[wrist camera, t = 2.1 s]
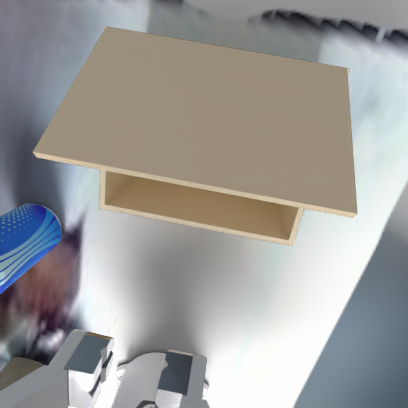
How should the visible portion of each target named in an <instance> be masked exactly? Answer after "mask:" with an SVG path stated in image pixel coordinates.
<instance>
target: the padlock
mask: <svg viewBox="0 0 408 408" xmlns="http://www.w3.org/2000/svg"><path fill="white" fill-rule="evenodd" d="M42 366H44V365H43V364H42V363H40V362H37V361H34V360H30V359H27V358H23V357H13V358H12V359H11V360H10V361H9V362H8V364H7V365H6V366H5V367H4V368H3V370H2V371H1V372H0V391H1V390H3V389H5V388H6V387H8V386H10V385H11V384H13V383H15V382H16V381H18V380H20V379H22V378H23V377H25V376H27V375H28V374H30V373H32V372H33V371H35V370H37V369H38V368H40V367H42Z"/></svg>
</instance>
